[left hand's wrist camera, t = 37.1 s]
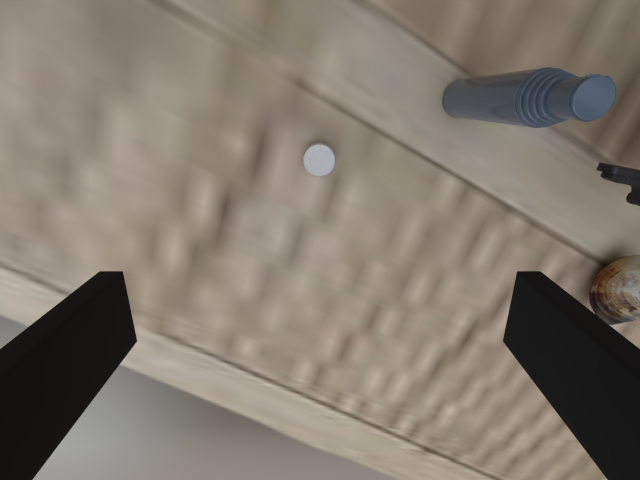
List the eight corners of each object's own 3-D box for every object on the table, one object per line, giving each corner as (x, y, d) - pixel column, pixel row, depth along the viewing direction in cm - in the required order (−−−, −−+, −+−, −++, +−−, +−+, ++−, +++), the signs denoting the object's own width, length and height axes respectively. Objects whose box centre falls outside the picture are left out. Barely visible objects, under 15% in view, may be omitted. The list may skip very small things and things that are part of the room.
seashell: (607, 240, 49) (659, 265, 42) (642, 255, 50) (699, 282, 43) (564, 298, 52) (605, 331, 45) (598, 312, 53) (644, 347, 46)
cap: (339, 149, 45) (340, 152, 43) (326, 177, 47) (327, 181, 44) (311, 137, 45) (311, 139, 43) (299, 165, 46) (298, 168, 44)
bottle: (462, 124, 44) (593, 147, 23) (435, 104, 44) (544, 110, 22) (485, 92, 43) (646, 86, 22) (457, 71, 42) (595, 44, 21)
